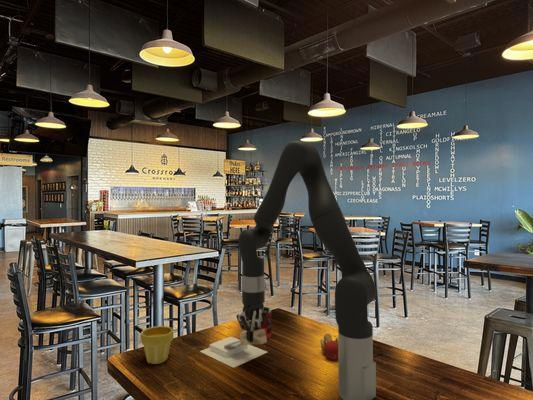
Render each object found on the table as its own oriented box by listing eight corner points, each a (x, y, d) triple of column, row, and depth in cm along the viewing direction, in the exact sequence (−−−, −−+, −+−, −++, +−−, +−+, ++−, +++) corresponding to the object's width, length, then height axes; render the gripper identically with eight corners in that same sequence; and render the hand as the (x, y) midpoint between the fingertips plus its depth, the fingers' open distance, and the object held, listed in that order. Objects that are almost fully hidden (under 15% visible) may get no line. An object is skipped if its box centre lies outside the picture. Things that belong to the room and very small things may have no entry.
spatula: (271, 339, 120) (269, 327, 120) (256, 346, 115) (254, 333, 115) (239, 341, 131) (236, 330, 131) (224, 347, 126) (221, 335, 126)
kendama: (315, 344, 138) (320, 359, 120) (318, 327, 139) (323, 339, 121) (335, 349, 137) (344, 364, 120) (338, 331, 138) (346, 344, 120)
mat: (267, 353, 127) (267, 351, 127) (233, 369, 116) (233, 367, 116) (233, 339, 140) (233, 338, 140) (199, 352, 128) (199, 351, 128)
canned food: (248, 335, 144) (248, 307, 144) (266, 332, 147) (266, 305, 147) (255, 342, 137) (255, 313, 137) (274, 339, 140) (274, 310, 140)
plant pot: (158, 350, 130) (158, 323, 130) (179, 357, 124) (179, 328, 124) (134, 362, 121) (134, 332, 121) (156, 369, 116) (156, 339, 115)
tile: (247, 343, 130) (231, 336, 136) (226, 351, 123) (209, 344, 129) (247, 348, 130) (231, 342, 136) (226, 357, 123) (209, 350, 129)
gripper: (245, 294, 113) (245, 350, 113) (275, 286, 123) (275, 337, 123) (230, 290, 118) (230, 343, 118) (259, 283, 128) (259, 332, 128)
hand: (253, 340), depth 121 cm, fingers closed on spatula, 2 cm apart
